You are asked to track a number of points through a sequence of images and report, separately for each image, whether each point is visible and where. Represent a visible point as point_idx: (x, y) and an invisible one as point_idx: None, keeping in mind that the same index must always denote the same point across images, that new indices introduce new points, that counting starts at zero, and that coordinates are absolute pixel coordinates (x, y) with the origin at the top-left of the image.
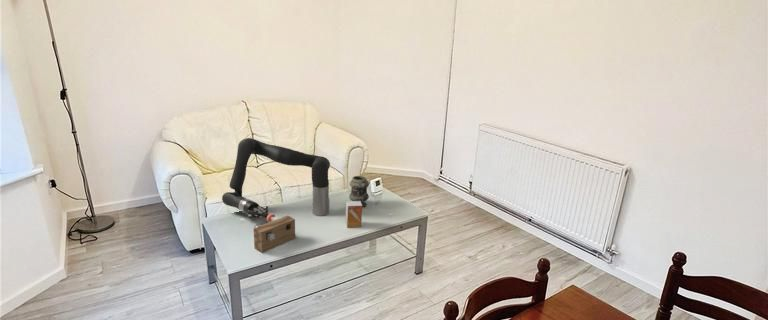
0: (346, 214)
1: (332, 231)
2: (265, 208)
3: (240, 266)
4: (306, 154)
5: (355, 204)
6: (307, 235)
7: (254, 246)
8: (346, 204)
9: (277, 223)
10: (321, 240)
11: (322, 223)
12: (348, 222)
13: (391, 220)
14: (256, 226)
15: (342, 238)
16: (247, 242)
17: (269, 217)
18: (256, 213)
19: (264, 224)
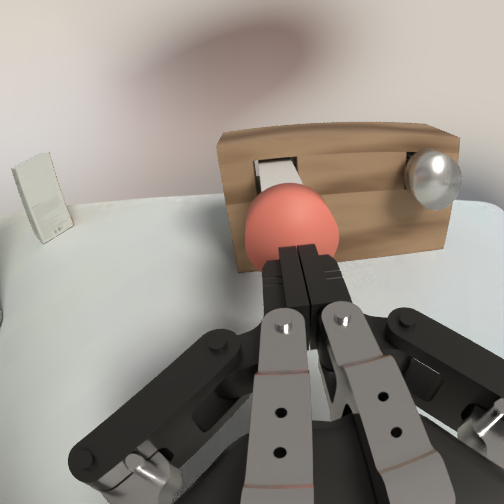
0: (43, 199)
1: (110, 226)
2: (146, 459)
3: (482, 205)
4: None
5: (35, 156)
6: (181, 237)
7: (445, 237)
8: (24, 171)
9: (329, 126)
10: (184, 205)
11: (60, 272)
12: (66, 207)
13: (22, 218)
14: (446, 155)
15: (140, 198)
16: (473, 302)
17: (320, 196)
18: (434, 324)
19: (401, 133)
